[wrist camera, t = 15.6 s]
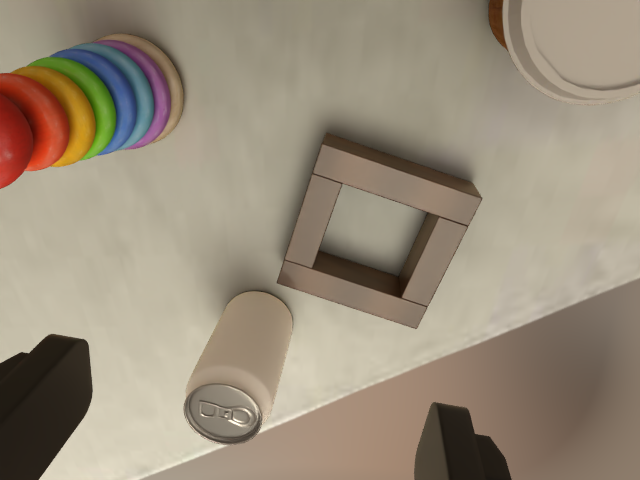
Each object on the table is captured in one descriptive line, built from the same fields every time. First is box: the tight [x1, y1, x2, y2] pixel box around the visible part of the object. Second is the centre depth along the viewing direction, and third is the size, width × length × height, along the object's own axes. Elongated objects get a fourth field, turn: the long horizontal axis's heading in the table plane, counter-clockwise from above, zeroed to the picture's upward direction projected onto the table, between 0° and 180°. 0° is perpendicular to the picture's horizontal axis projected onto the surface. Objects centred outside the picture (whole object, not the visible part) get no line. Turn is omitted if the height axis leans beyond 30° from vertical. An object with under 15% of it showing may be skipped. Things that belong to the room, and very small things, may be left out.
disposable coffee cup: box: [489, 0, 640, 105], centre depth 26 cm, size 10×10×12 cm
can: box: [184, 291, 293, 445], centre depth 39 cm, size 6×6×12 cm
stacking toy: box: [0, 34, 184, 189], centre depth 28 cm, size 8×8×19 cm
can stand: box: [277, 133, 482, 329], centre depth 38 cm, size 12×12×4 cm
